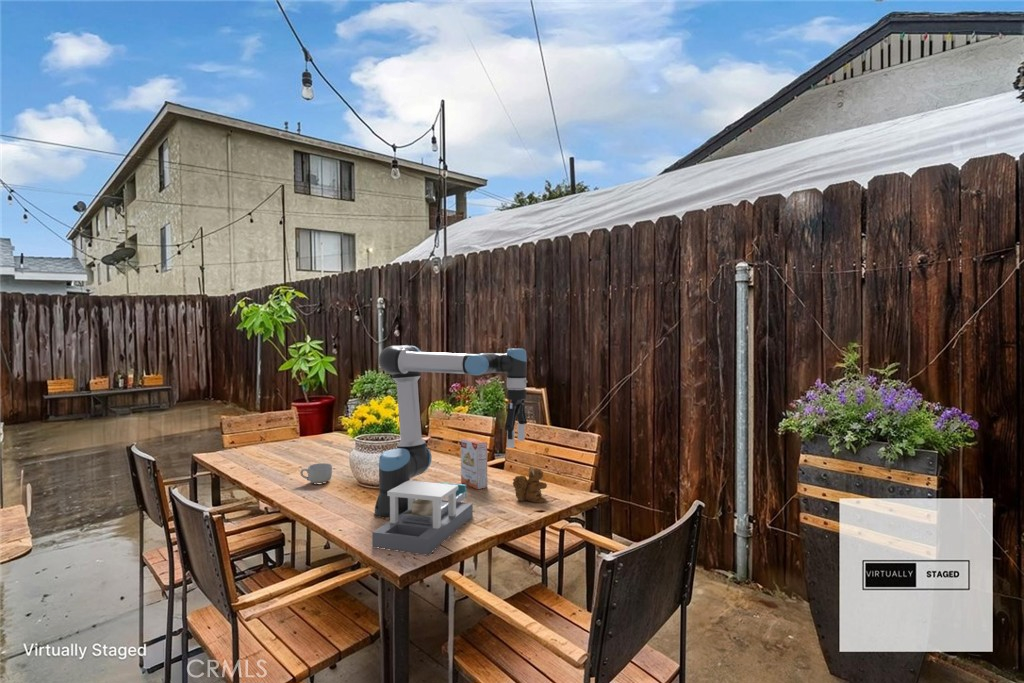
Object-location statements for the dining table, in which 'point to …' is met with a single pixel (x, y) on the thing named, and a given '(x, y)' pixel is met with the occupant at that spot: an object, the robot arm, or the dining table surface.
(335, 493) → the dining table surface
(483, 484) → the cracker box
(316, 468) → the teacup
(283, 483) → the dining table surface
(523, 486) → the stuffed squirrel
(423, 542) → the tunnel track
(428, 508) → the beige rounded lump
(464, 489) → the sled
